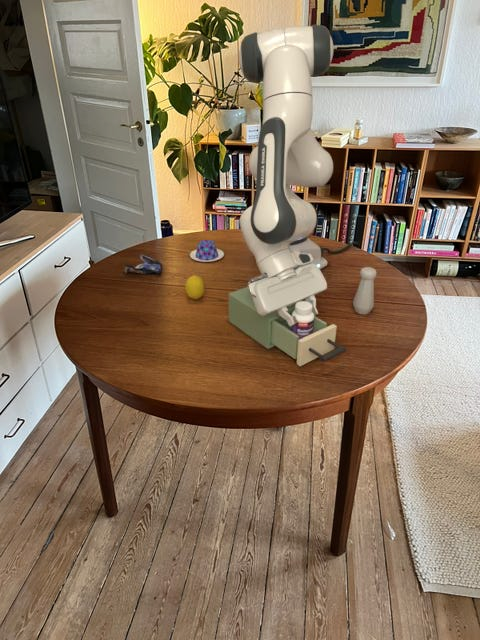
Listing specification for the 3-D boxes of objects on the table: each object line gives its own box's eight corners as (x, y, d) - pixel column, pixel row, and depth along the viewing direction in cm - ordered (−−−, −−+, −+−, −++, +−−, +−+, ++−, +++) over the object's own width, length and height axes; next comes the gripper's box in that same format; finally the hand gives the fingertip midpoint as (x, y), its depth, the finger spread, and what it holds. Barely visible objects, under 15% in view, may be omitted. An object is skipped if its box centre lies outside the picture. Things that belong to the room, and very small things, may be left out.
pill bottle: (296, 347, 111) (299, 312, 105) (286, 336, 115) (287, 302, 110) (316, 342, 112) (319, 308, 107) (305, 331, 117) (307, 297, 111)
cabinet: (304, 332, 122) (307, 303, 117) (267, 349, 115) (268, 319, 111) (264, 307, 133) (265, 280, 128) (228, 321, 126) (228, 293, 122)
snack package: (137, 262, 159) (119, 276, 150) (138, 245, 156) (119, 258, 146) (169, 273, 157) (152, 287, 147) (170, 256, 153) (153, 269, 144)
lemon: (202, 305, 134) (200, 280, 130) (183, 303, 135) (181, 278, 131) (207, 296, 139) (206, 271, 134) (189, 294, 140) (187, 270, 135)
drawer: (350, 359, 110) (354, 335, 106) (316, 378, 104) (318, 353, 100) (291, 322, 124) (292, 300, 120) (257, 337, 118) (258, 314, 115)
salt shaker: (350, 313, 130) (356, 271, 123) (353, 304, 134) (359, 263, 127) (371, 317, 128) (378, 275, 121) (373, 307, 132) (381, 266, 126)
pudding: (189, 264, 158) (188, 249, 155) (190, 250, 168) (189, 236, 165) (224, 262, 159) (224, 248, 156) (223, 249, 169) (222, 235, 166)
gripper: (250, 275, 104) (277, 330, 102) (316, 252, 114) (341, 302, 113) (238, 285, 109) (264, 338, 108) (302, 263, 119) (326, 311, 118)
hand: (304, 320), depth 110 cm, fingers closed on pill bottle, 5 cm apart
